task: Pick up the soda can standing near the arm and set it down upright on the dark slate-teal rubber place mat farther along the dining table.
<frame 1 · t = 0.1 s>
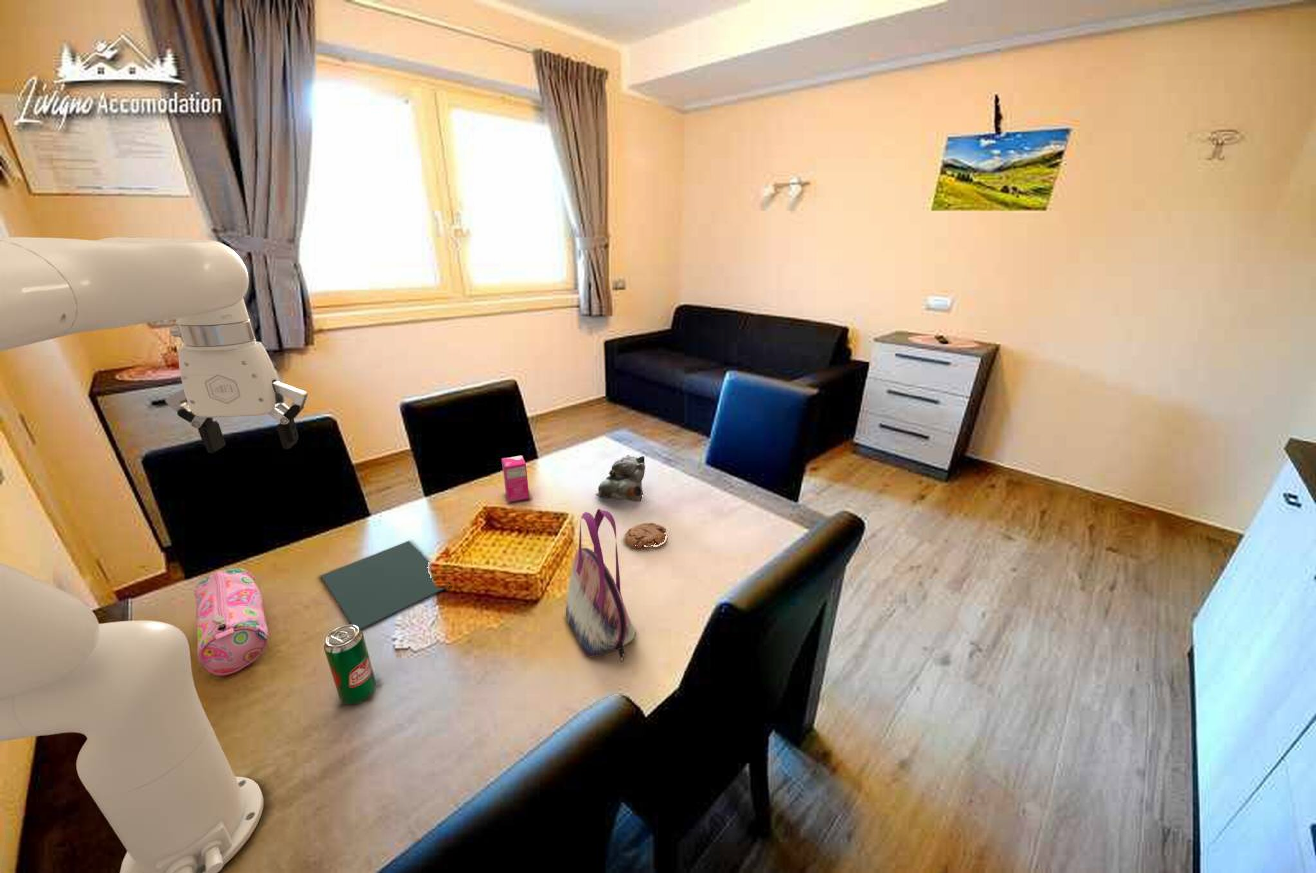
hand: (254, 447, 73), 37 cm above the table, tool pointing down, fingers open, 9 cm apart
cookie: (646, 540, 118), on the table
handbag: (600, 629, 91), on the table
place mat: (386, 581, 101), on the table
supplement box: (517, 497, 135), on the table
soda can: (359, 693, 77), on the table
lucky cat figurine: (621, 497, 138), on the table
pencil case: (238, 636, 87), on the table
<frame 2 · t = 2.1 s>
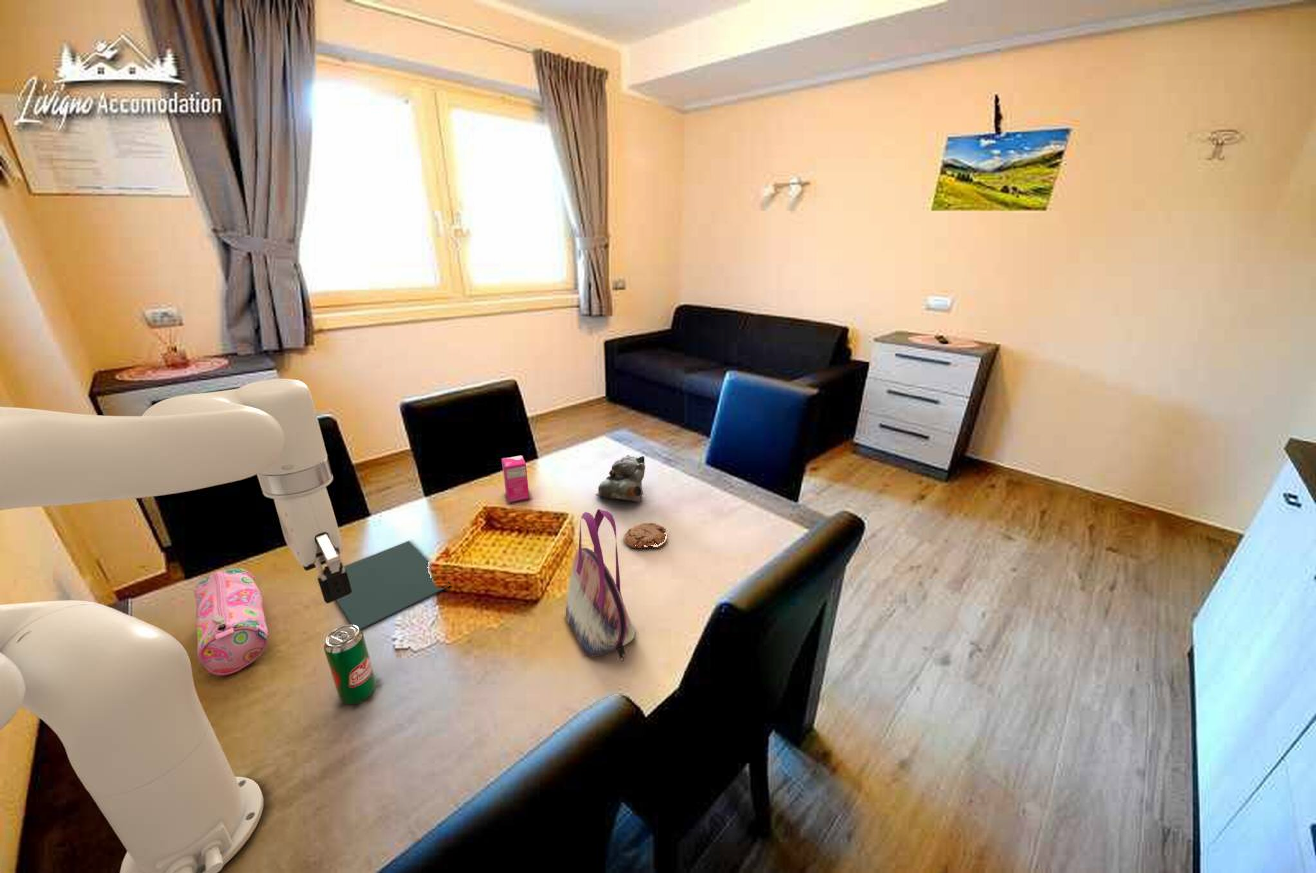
hand: (327, 580, 69), 22 cm above the table, tool pointing down, fingers open, 9 cm apart
nothing on the table moved.
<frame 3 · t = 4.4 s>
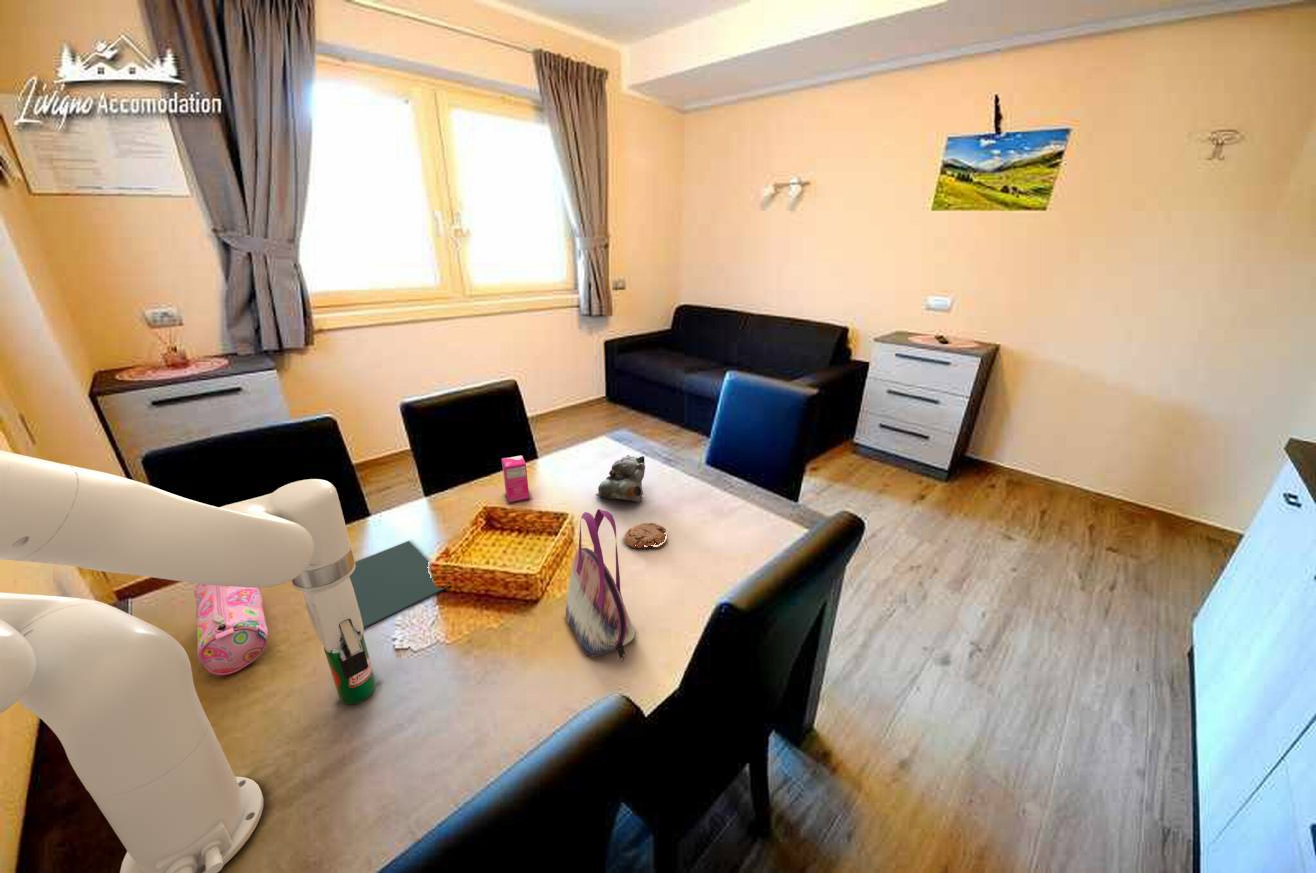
hand: (349, 660, 74), 7 cm above the table, tool pointing down, fingers closed on soda can, 5 cm apart
soda can: (359, 693, 77), on the table, touching gripper
everything else where it was.
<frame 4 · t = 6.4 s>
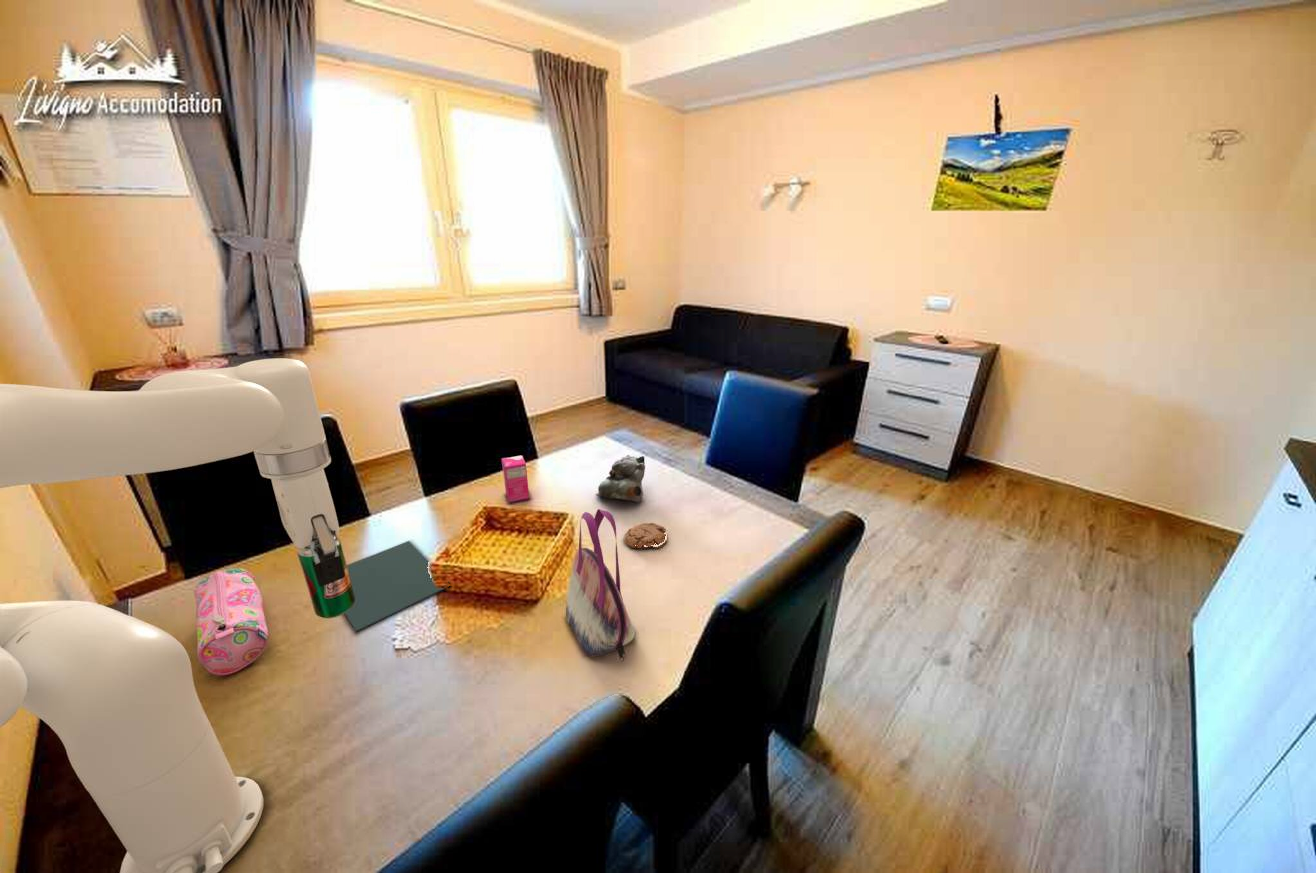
hand: (325, 570, 69), 23 cm above the table, tool pointing down, fingers closed on soda can, 5 cm apart
soda can: (336, 609, 71), point 16 cm above the table, touching gripper
everything else where it was.
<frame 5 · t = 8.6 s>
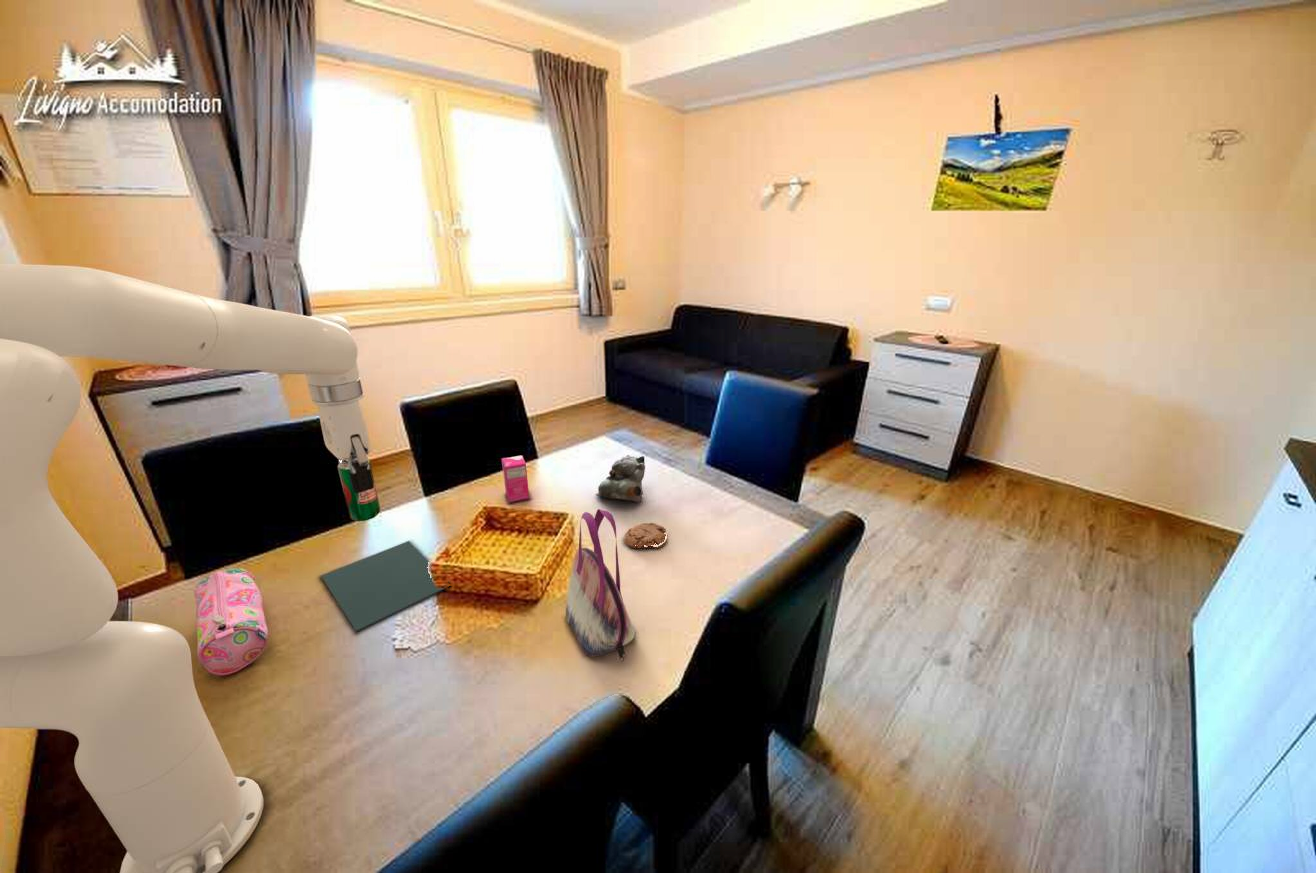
hand: (358, 483, 89), 25 cm above the table, tool pointing down, fingers closed on soda can, 5 cm apart
soda can: (366, 516, 91), point 18 cm above the table, touching gripper
everything else where it was.
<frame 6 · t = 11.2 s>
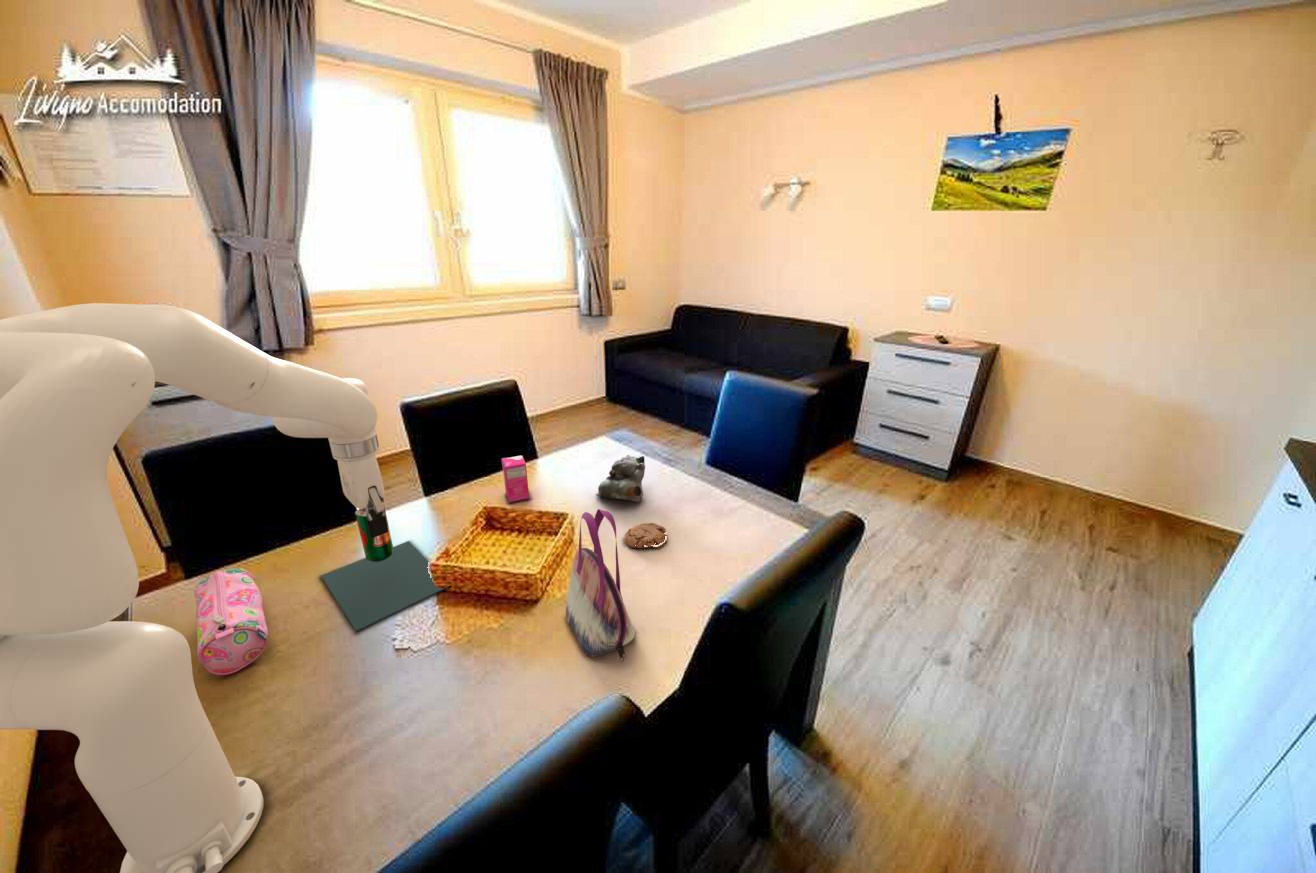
hand: (373, 527, 96), 13 cm above the table, tool pointing down, fingers closed on soda can, 5 cm apart
soda can: (380, 556, 99), point 6 cm above the table, touching gripper
everything else where it was.
when the fingers open (7 cm above the table, at t = 13.1 s): soda can stays where it is, resting on place mat.
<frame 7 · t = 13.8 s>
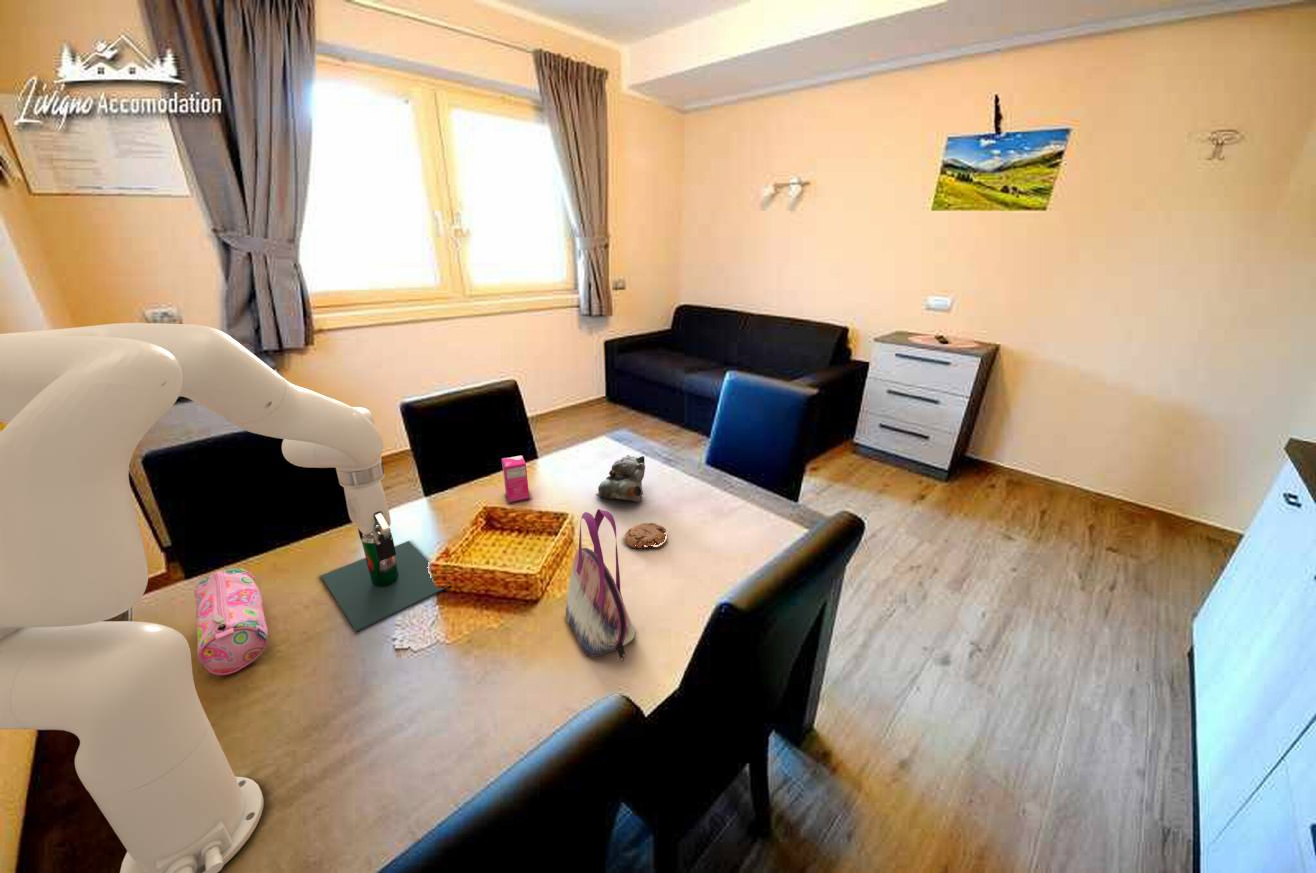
hand: (378, 547, 98), 9 cm above the table, tool pointing down, fingers open, 9 cm apart
soda can: (385, 580, 101), resting on place mat
everything else where it was.
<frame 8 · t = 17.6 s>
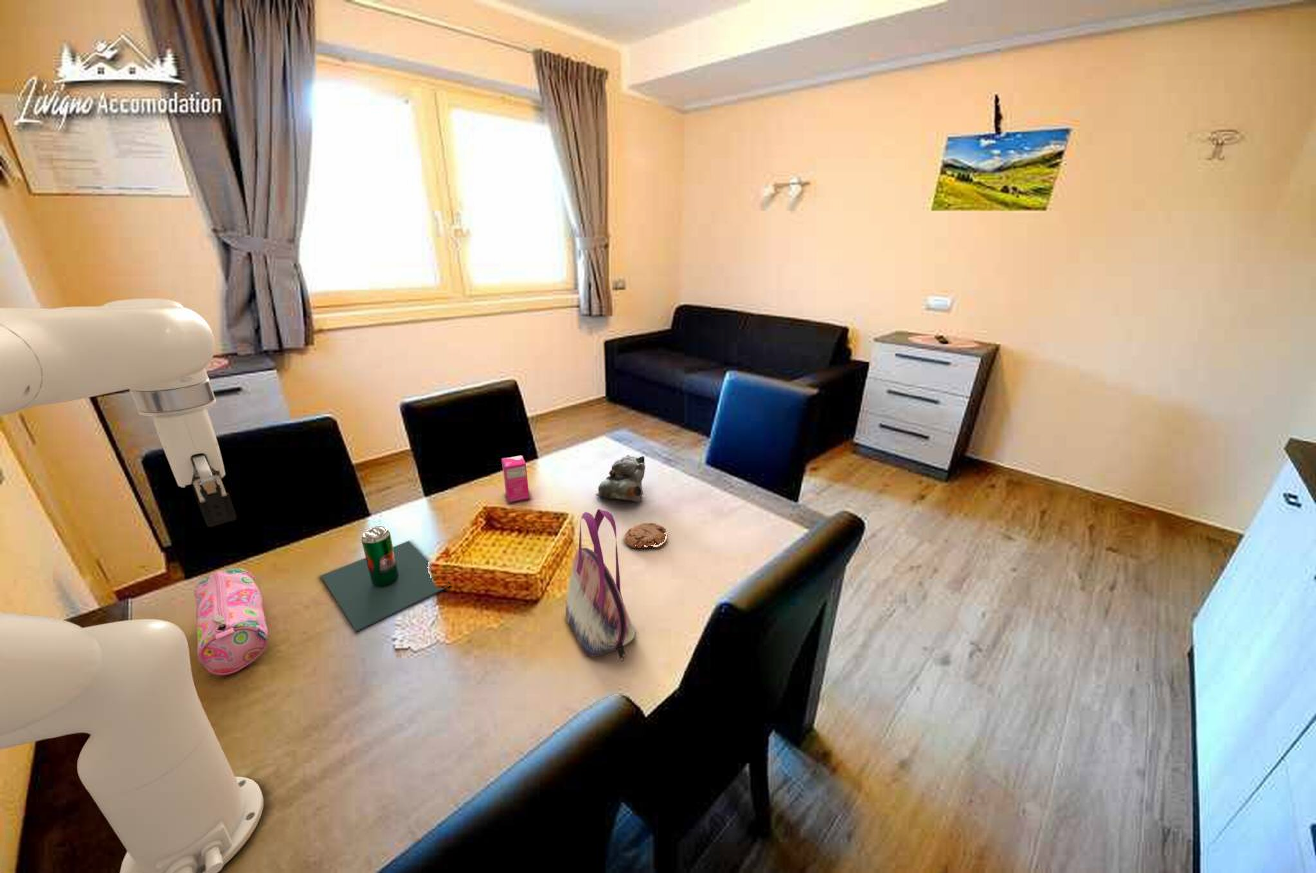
hand: (216, 509, 70), 30 cm above the table, tool pointing down, fingers open, 9 cm apart
nothing on the table moved.
at the end: soda can inside the target area on the place mat (0.1 cm from its centre), point 0.2 cm above the place mat's base; soda can tilted 0°; the gripper is holding nothing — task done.
